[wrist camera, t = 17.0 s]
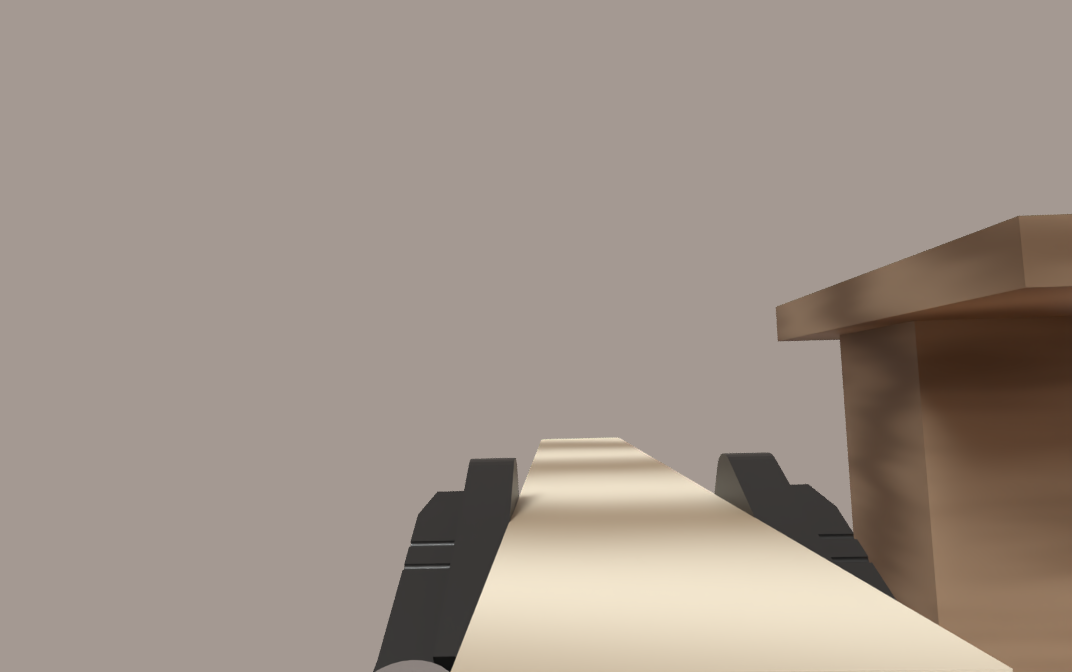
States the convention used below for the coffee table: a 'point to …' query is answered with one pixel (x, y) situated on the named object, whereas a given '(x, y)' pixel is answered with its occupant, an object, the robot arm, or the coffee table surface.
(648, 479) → the ash leg
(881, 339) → the tall stand
